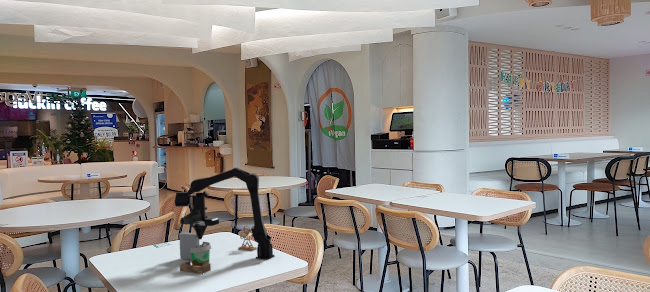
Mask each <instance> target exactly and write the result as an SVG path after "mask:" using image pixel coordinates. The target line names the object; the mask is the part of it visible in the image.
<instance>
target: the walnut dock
mask: <svg viewBox="0 0 650 292" xmlns="http://www.w3.org/2000/svg"><path fill="white" fill-rule="evenodd" d="M211 268H212V267H211V263H210V262H209V263H208V264H206V265H203V266H195V265H192V261H191V260H188V261H186V262H185V261H184V262H182V263H180V264H179V271H180V272H181V271H182V272H183V273H190V274H197V275H204V274H206V273H208V272H211ZM203 273H204V274H203Z"/></svg>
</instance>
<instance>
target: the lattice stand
mask: <svg viewBox="0 0 650 292" xmlns="http://www.w3.org/2000/svg"><path fill="white" fill-rule="evenodd" d="M243 234H244V235H243ZM249 234H251V235H249ZM239 237H240V239H241V240H243V243H242V244H241V246H239V247H238V249H237V250H240V251H247V252H253V251H255V250H256V251H257V247H255V246H254V245H253V244H252V243H253V242H251V237H252V231H251V227H249V226H248V225H245V226H243V232H241V233H240V236H239ZM248 241H249V242H248Z"/></svg>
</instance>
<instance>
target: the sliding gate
mask: <svg viewBox="0 0 650 292" xmlns="http://www.w3.org/2000/svg"><path fill="white" fill-rule="evenodd" d="M178 237H179V255H180V257H179V258H180V259H183V260H188V261H192V257H191V253H190V250H191V248H195V247H196V246H198V245H201V244H200V239H199V238H198V236H197V234H196V232H195V233H194V232H180V233H179V234H178Z"/></svg>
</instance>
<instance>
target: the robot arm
mask: <svg viewBox="0 0 650 292" xmlns="http://www.w3.org/2000/svg"><path fill="white" fill-rule="evenodd" d="M232 178H237V179H238V180H240V181H242V182H244V183H245V186H246V188H247V190H248V192H249V194H250V195H249V197H250V203H251V209H252V210H251V211H252V218H253V225H252V227H250V230H251V232H252V233H251V235H252V236H251V238H253V240H254V242H256V243H257V247H256V248H257V249H256V251H257V252H256V254H257V256H256V257H255V258H256V259H259V260H269V259H272V258H274V257H275V256H276V255H275V254H274V253H273V252H274V250H273V243H271V242H272V236H270V235H269V234H268V233H267V228H266V227H265V223H264V221H263V215H262V214H263V213H262V209H261V202H260V194H259V190H260V177H259V175H258V174H257V173H255V172H254V173H250V172H248V171H246V170H243V169H240V168H239V167H233V168H232V169H231V168H230V169H229V170H226V171H223V172H221V173H218V174H214V175H212V176H207V177H206V176H205V177H201V178H199V177H198V178H196V179H194V180H192V181H191V182H190V185H189V186H190V187H189V189H188V190H187V191H183V192H181V191H176V193H175V197H174V206H175V207H176V208H181V207H182V208H183V207H187V208H188V207H190V205H192V208H190V211H189V213H187V214H186V215H185V216H184V217H180V220H179V224H180V225H189V227H192V228H193V230H194V231H195V234H197V236H198V238H199V240H202V239H203V237H204V234H205V231H206V230H207V228H208V227H212V226H216V225H220V219H219V217H209V218H208V215H206V210H208V207H207V206H206V197H209V196H210V193H208V192H207V191H206V190H205V189H207V188H208V187H210V186H212V185H215V184H218V183H220V182H223V181H226V180H229V179H232ZM203 190H204V191H203ZM201 191H203V192H201ZM195 193H196V194H195Z"/></svg>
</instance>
